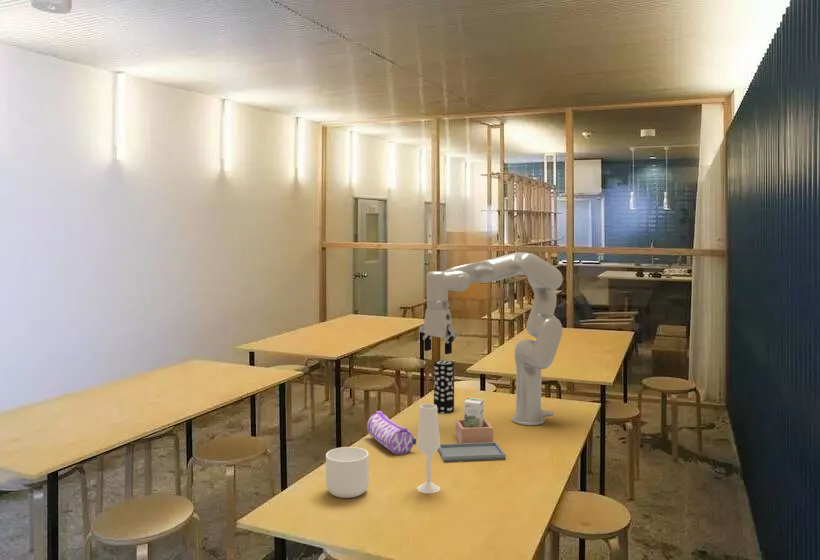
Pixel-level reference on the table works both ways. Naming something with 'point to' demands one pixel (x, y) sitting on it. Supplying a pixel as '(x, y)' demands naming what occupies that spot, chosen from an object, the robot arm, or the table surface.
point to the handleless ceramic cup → (347, 471)
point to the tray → (471, 452)
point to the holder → (473, 432)
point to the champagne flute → (428, 442)
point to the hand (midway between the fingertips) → (437, 352)
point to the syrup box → (473, 413)
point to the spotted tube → (444, 386)
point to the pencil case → (390, 434)
